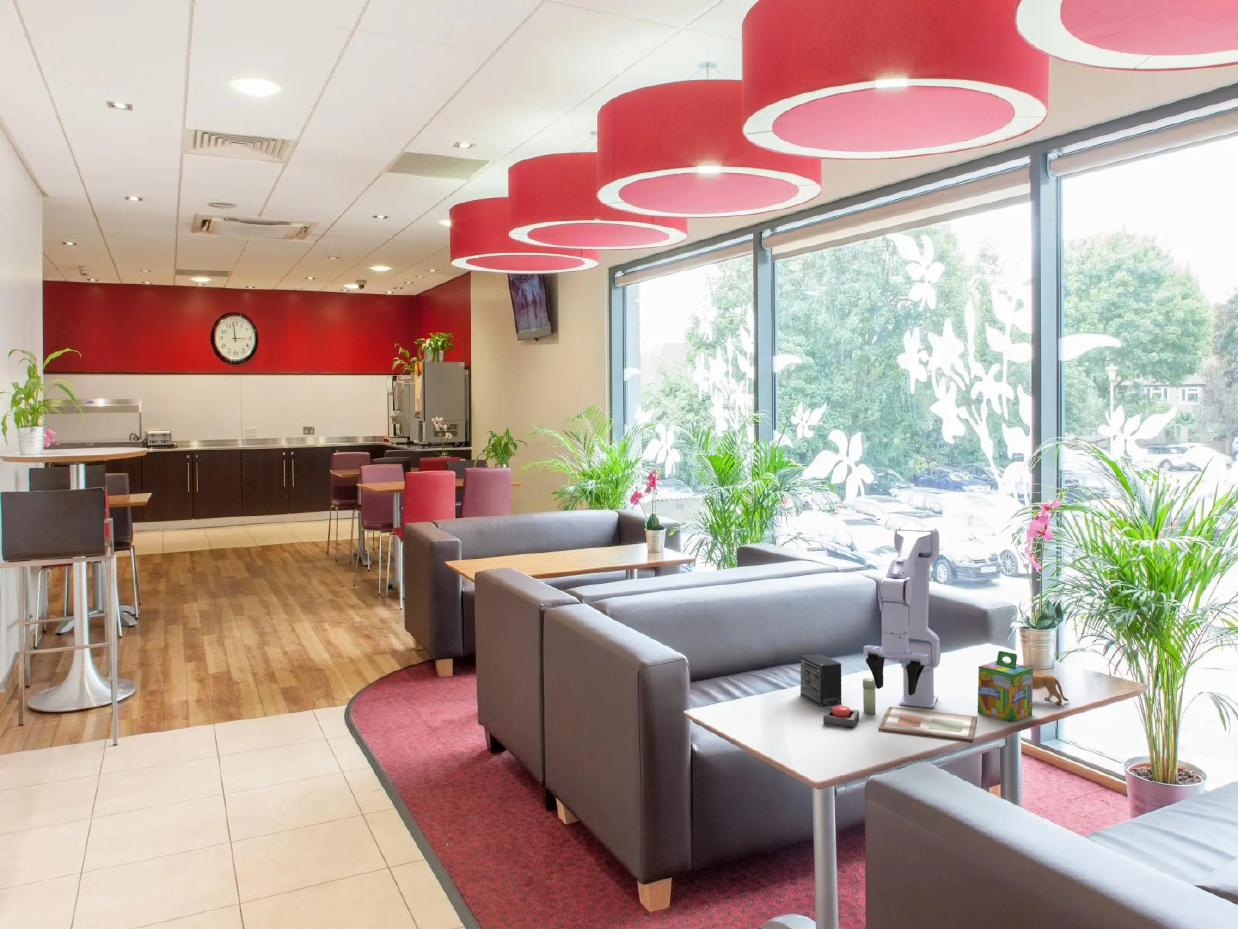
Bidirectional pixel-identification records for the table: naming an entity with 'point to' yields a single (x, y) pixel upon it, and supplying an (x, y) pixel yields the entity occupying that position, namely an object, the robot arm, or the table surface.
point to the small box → (820, 679)
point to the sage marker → (869, 696)
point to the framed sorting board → (929, 724)
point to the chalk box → (1005, 689)
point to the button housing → (841, 719)
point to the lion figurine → (1048, 686)
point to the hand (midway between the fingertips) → (895, 690)
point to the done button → (841, 711)
